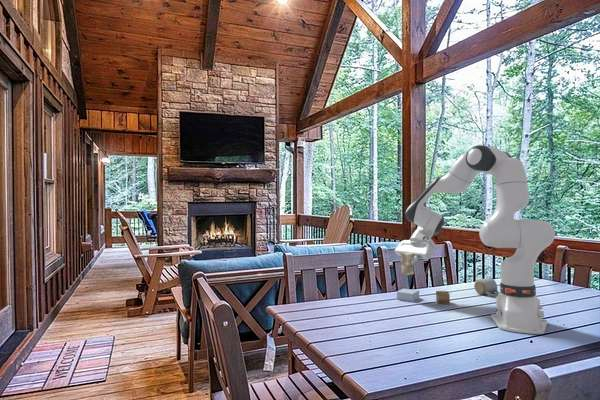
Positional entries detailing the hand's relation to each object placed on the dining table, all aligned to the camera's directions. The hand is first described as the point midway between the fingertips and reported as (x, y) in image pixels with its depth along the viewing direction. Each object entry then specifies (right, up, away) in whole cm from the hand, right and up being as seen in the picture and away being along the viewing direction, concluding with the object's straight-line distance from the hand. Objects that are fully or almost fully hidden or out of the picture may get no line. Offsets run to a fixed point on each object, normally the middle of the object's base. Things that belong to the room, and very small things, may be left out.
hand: (406, 263), depth 181 cm
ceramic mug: (+42, -17, +5) cm, 45 cm away
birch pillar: (+1, -5, 0) cm, 5 cm away
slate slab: (+1, -18, 0) cm, 18 cm away
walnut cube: (+14, -17, -9) cm, 24 cm away
